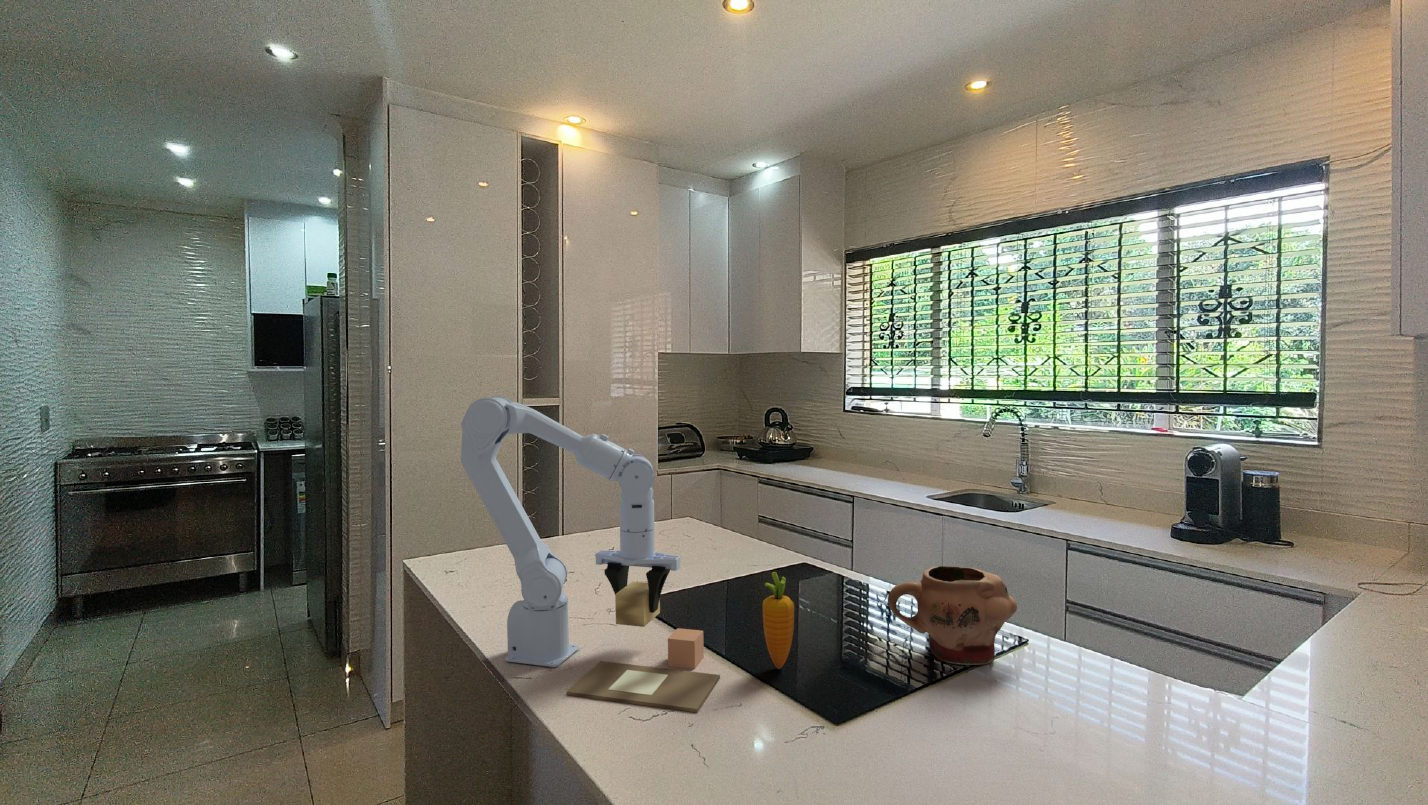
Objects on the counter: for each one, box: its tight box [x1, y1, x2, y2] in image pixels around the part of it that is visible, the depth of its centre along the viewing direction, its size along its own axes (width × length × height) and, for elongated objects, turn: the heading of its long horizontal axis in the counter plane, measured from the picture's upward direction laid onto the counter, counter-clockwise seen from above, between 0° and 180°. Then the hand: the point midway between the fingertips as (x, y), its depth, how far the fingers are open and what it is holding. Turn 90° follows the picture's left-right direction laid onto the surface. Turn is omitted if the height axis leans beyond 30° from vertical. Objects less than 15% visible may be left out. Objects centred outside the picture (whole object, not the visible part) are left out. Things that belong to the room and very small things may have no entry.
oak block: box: [614, 581, 661, 628], centre depth 115 cm, size 5×7×5 cm
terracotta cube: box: [667, 627, 705, 670], centre depth 110 cm, size 4×4×4 cm
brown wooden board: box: [566, 660, 721, 714], centre depth 102 cm, size 20×11×1 cm, turn 73°
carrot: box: [762, 571, 795, 670], centre depth 107 cm, size 5×5×15 cm
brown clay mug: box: [887, 565, 1018, 666], centre depth 111 cm, size 20×12×14 cm, turn 89°
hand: (638, 609), depth 115 cm, fingers closed on oak block, 5 cm apart
